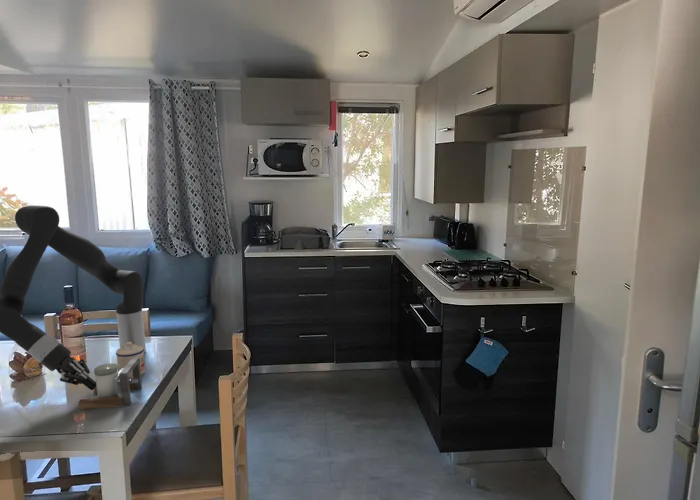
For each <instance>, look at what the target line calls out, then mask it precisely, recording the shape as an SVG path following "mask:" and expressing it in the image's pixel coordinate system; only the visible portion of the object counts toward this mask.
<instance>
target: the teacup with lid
mask: <svg viewBox="0 0 700 500" xmlns="http://www.w3.org/2000/svg"><path fill="white" fill-rule="evenodd" d="M143 351H144V348H143V347H142V346H140V345H135V344H132V342H127V343H126V345H125V346H124V347H122V348H120V347H119V348H118V349H117V350H116V352H115V355H116V362H117V363H116V364H117V365H118V372H119V371H120V370H121V369H122V368H125V366H126V365H127V364H128V363H129V361H130V360H131V359H132V358H134V357H139V361H140V372H141V376H143V375H144V374H145V373H146V364H145V355H144V354H145V353H144V352H143ZM131 379H133V371H132V372H131V373H130V374H129V380H131Z"/></svg>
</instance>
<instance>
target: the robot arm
mask: <svg viewBox="0 0 700 500" xmlns="http://www.w3.org/2000/svg"><path fill="white" fill-rule="evenodd" d="M14 215H15V216H14V221H15V224H16V227H18V228H19V230H20V231H22V232H23V233H25V234H27V235H28V238H27V241H26V243H25V244H24V246H23V248H22V250H21V251H20V252H19V253H18V255H17V256H16V257H15V258H14V259H13V261H12V262H11V263H10V264H9V266H8V268H7V269H6V271H5V274H4V277H3V279H2V283H1V286H0V333H1V334H2V335H4V336H6V337H7V338H9V339H10V340H12V341H14V343H16V344H17V345H18V346H19V347H20V348H22V349H23V350H24V351H26V352H27V354H29V355H30V356H31V357H32V358H33V359H35V360H36V361H37V362H39V363H40V364H41V365H42V366H44V367H45V368H47V370H48V371H50V372H54V371H55V370H56V371H57V373H58V374H59V375H61V376H60V378H59V381H60V382H63V383H66V384H70V385H75V386H79V384H80V385H83V386H85V387H86V388H87V389H89V390H90V391H94V388H95V387H96V380H94V379H93V378H91V377H90V373H91V371H90V369H89V367H88V365H87V363H86V362H85V360H84V359H83V358H81V359H80V360H77V359H76V358H74V357H72V356H71V354H72V351H71V350H70V349H68V348H67V347H66V346H64V345H63V344H62V343H61V342H60V341H59V340H57V339H55V338H54V337H52V336H51V335H49V334H47V333H46V332H45V331H43V330H42V329H41V328H40V327H38V326H37V325H35V324H33V323H31V322H30V321H28V319H26V318H25V317H23V316H22V314H23V310H24V306H25V300H26V298H27V294H28V292H29V289H30V287H31V283H32V282H33V281H32V280H33V278H34V275H35V273H36V269H37V268H38V265H39V263H40V261H41V259H42V257H43V255H44V253H45V251H46V249H47V248H48V246H49V247H50V248H51V249H53V250H54V251H55V252H57V253H58V254H59V255H61V256H62V257H64V258H65V259H67V260H68V261H70V262H71V263H72V264H74V265H75V266H76V267H78V268H79V269H82V270H83V271H84V272H86V273H88V274H89V275H91V276H93V278H96V279H98V281H100V282H101V283H102V284H103V285H105V286H106V287H107V288H108V289H109V290H111V292H113V293H114V294H119V295H123V301H122V302H120V303H118V304H116V306H115V312H116V320H117V321H116V322H117V331H118V341H119V349H120V348H122V347H124V346H125V345H126V343H127V342H132V344H135V345H140V346H142V347H143V348H144V351H143V352H144V354H145V353H146V351H147V349H146V347H147V346H146V339H145V338H146V337H145V326H144V315H143V305H144V304H143V303H144V284H143V281H144V280H143V278H142V276H141V274H140V273H139V272H138V271H134V270H124V269H120V268H118V267H116V266H114V265H113V264H111V263H110V262H109V261H108V260H107V258H106V256H105V254H104V252H103V251H102V249H101V248H99V247H98V246H97V245H96V244H95V243H93V242H91V241H90V240H89V239H87V238H85V237H83V236H82V235H80V234H77V233H74V232H73V231H70V230H66V229H65V228H62V227H60V226H59V224H60V215H59V212H58V211H57V210H56V209H55V208H54V207H51V206H49V205H36V204H35V205H33V204H32V205H26V206H23V207H20V208H19V209H18V210H17V211H16V212H15V214H14Z"/></svg>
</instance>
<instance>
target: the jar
mask: <svg viewBox="0 0 700 500" xmlns="http://www.w3.org/2000/svg"><path fill="white" fill-rule="evenodd" d="M93 372H94V375H95V376H94V377H95V382H96V387H97V392H96V395H97V398H106V397H115V395H114V386H113V378H114V377H115V376H116V375H117V373H118V363H104V364H101V365H98V366H96V367H94V369H93Z"/></svg>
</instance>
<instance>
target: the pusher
mask: <svg viewBox="0 0 700 500" xmlns="http://www.w3.org/2000/svg"><path fill="white" fill-rule="evenodd" d="M123 369H124V368H122V369H121V370H120V371H119V372H118V373H117V375H116V376H115V377H114V378H113V386H114V395H115V397H120V396H122V393H121V383H120V372H121V371H122V370H123ZM130 383H138V379H133V378H131V379H129V384H130Z"/></svg>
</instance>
